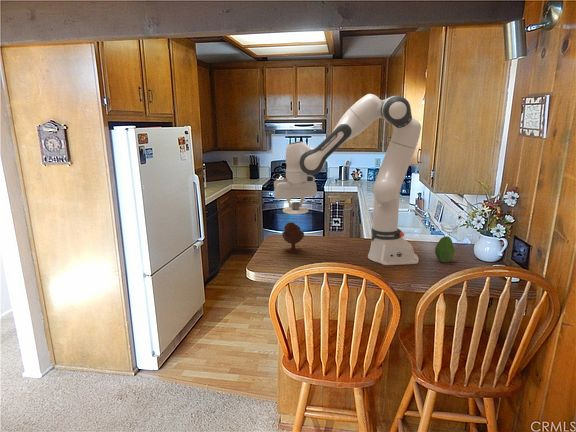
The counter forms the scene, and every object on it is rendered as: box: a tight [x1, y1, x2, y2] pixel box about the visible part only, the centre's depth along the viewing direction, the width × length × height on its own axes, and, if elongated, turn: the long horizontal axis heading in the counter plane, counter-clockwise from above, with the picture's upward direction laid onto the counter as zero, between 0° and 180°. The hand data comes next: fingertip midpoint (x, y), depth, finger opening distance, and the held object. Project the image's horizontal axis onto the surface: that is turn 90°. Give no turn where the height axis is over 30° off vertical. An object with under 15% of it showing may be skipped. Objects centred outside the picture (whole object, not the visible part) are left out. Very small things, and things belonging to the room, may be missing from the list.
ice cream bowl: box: [281, 221, 305, 254], centre depth 181 cm, size 11×11×15 cm
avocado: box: [434, 235, 455, 264], centre depth 164 cm, size 8×8×12 cm
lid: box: [282, 201, 309, 215], centre depth 172 cm, size 12×12×4 cm
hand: (295, 207), depth 172 cm, fingers closed on lid, 3 cm apart
